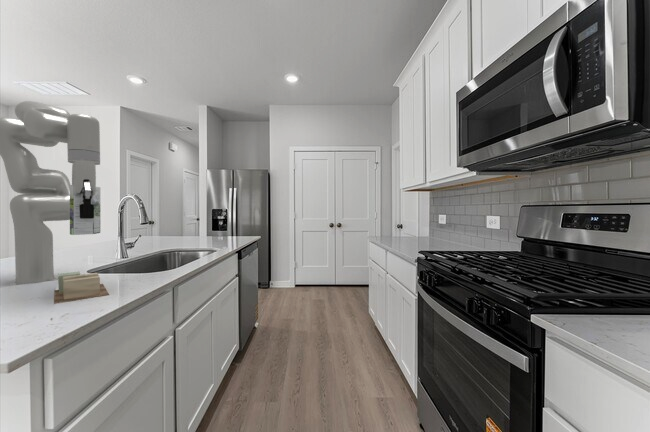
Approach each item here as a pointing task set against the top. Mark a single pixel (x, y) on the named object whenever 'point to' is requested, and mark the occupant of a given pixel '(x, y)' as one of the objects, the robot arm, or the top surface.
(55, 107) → the robot arm
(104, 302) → the top surface
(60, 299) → the board
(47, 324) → the top surface
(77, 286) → the base block
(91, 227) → the syrup box
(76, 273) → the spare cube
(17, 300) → the top surface
